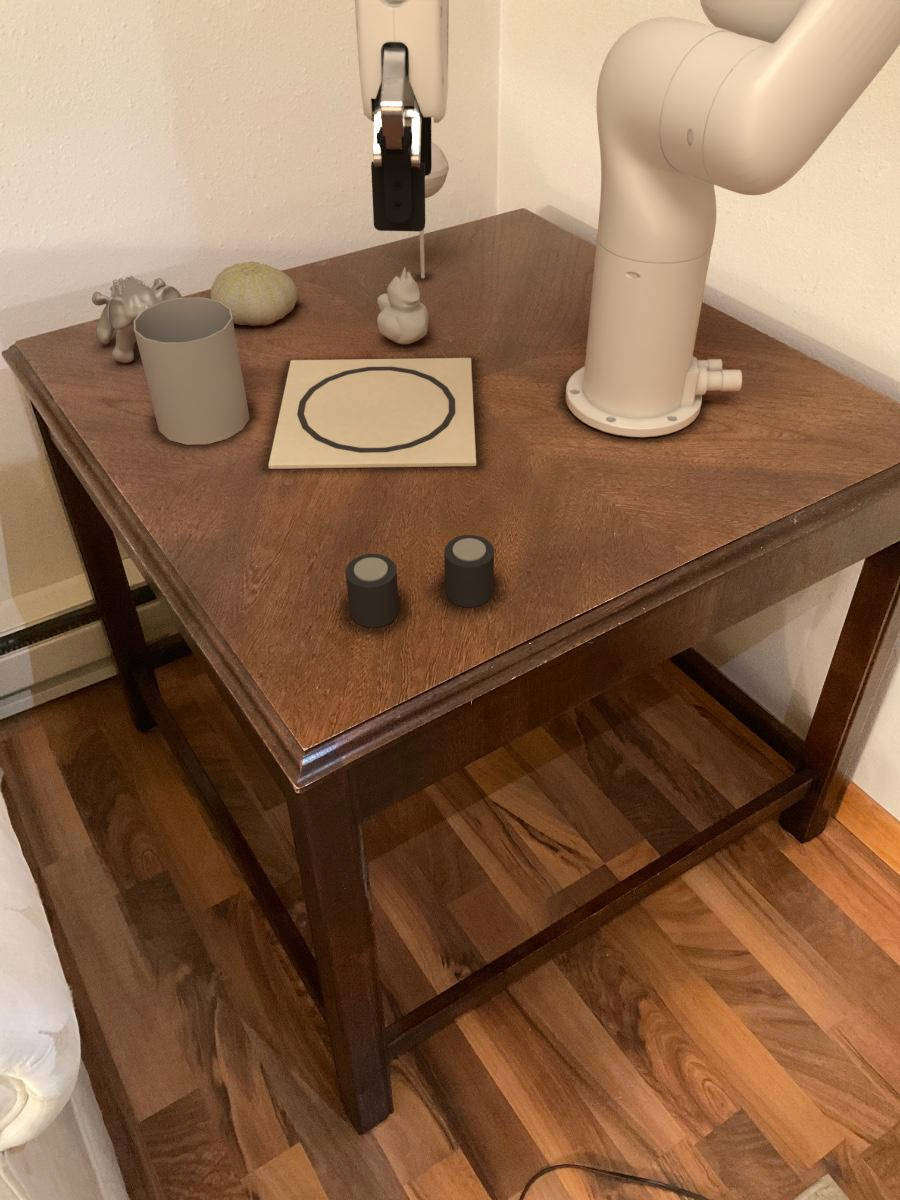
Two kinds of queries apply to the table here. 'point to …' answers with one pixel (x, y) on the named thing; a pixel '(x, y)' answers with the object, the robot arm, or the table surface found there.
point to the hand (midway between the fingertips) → (404, 200)
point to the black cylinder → (469, 570)
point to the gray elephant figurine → (128, 311)
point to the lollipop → (433, 187)
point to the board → (376, 414)
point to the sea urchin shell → (255, 293)
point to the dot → (372, 590)
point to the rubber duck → (402, 311)
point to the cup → (192, 369)
